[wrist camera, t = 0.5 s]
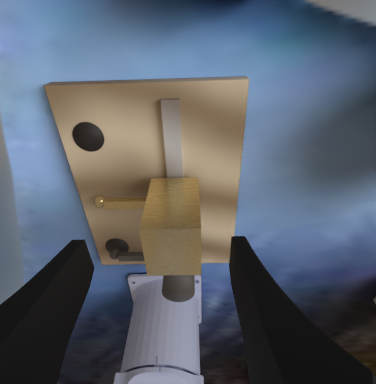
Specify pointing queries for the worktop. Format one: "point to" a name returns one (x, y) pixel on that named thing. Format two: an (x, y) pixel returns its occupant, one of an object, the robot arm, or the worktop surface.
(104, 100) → the tan base plate
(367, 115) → the worktop surface
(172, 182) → the block
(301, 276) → the worktop surface
